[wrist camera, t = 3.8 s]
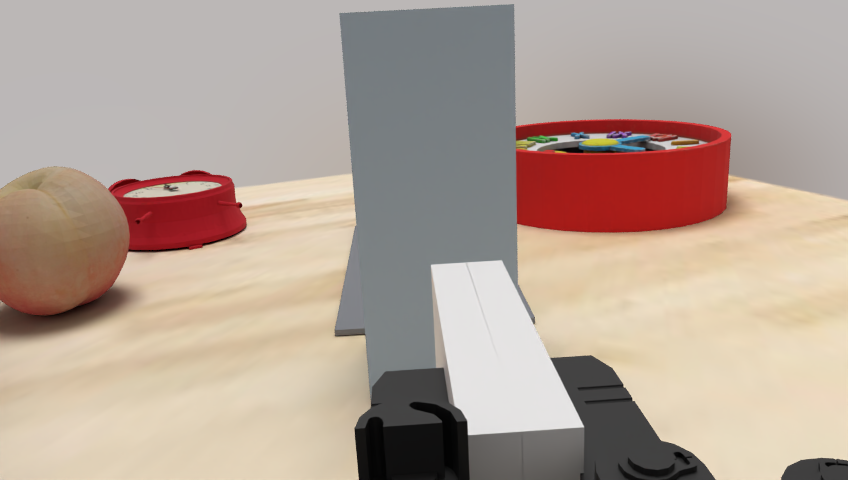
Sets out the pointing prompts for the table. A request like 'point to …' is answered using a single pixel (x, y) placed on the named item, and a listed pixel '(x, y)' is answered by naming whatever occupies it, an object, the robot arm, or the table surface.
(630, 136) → the toy clock
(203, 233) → the alarm clock
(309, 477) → the table surface
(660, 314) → the table surface
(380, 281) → the blue-grey rectangular block
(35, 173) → the fruit
